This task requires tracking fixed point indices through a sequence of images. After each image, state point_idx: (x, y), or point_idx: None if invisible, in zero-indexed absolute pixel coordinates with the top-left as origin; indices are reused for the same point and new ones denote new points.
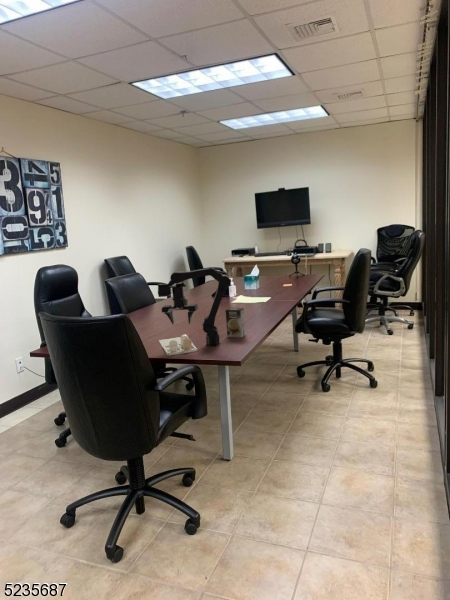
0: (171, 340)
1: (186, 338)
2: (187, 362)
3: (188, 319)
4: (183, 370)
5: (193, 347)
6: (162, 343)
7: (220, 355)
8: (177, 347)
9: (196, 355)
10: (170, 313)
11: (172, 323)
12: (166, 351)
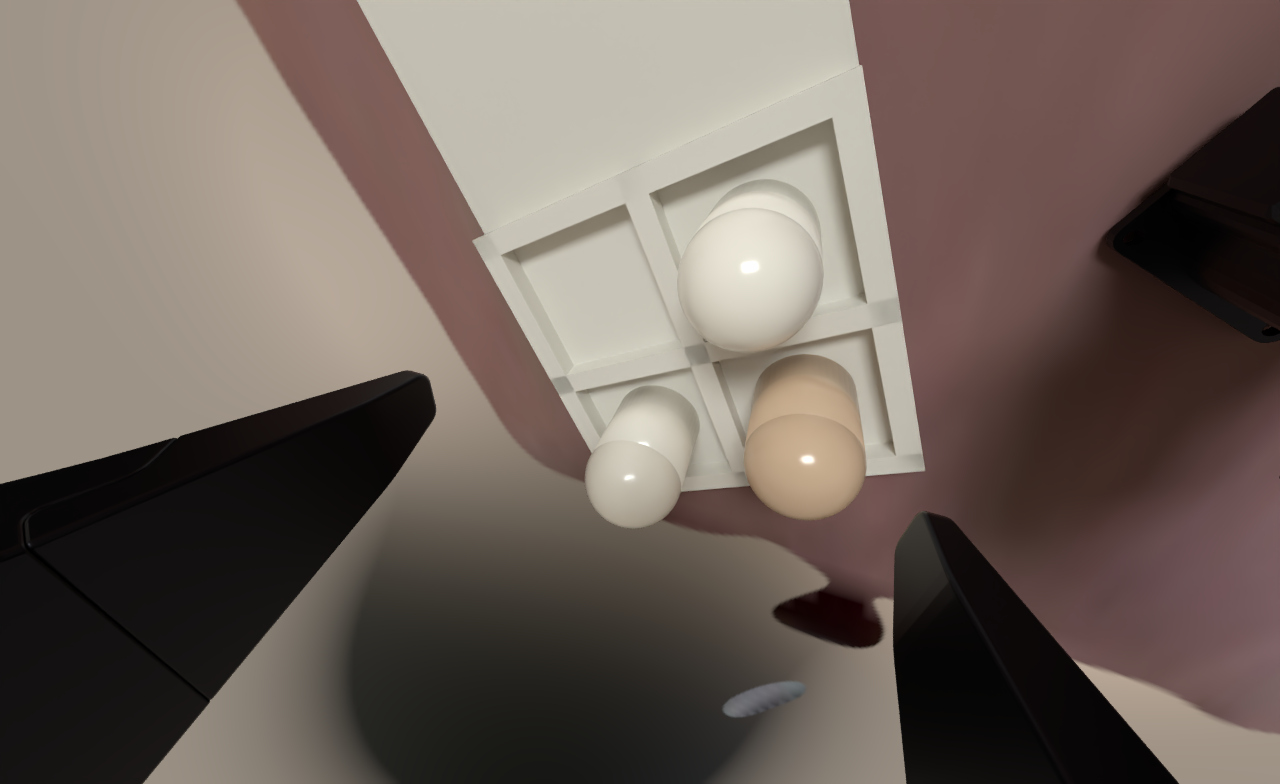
0: (603, 513)
1: (794, 513)
2: (803, 616)
3: (910, 758)
4: (781, 691)
5: (880, 372)
6: (394, 24)
7: (1167, 599)
8: (687, 468)
9: (891, 523)
10: (39, 767)
11: (408, 434)
12: (590, 441)
